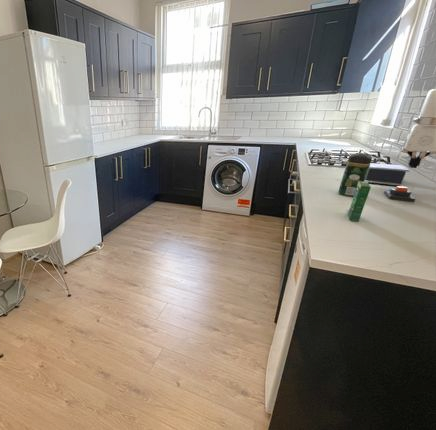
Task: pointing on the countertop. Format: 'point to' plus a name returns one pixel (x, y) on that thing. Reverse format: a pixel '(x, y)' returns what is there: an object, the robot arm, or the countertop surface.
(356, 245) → the countertop surface
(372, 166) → the lid
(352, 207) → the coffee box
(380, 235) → the countertop surface
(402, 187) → the button
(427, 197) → the countertop surface
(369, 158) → the coffee jar
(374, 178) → the chest
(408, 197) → the control block
